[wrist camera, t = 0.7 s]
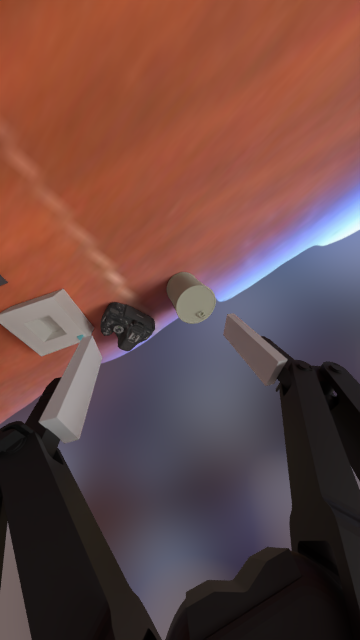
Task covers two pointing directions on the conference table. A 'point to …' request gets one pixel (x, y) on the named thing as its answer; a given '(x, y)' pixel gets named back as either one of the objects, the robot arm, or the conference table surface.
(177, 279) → the can
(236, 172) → the conference table surface
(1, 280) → the dark grey square tray
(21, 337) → the port panel
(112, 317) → the camera
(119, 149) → the conference table surface
